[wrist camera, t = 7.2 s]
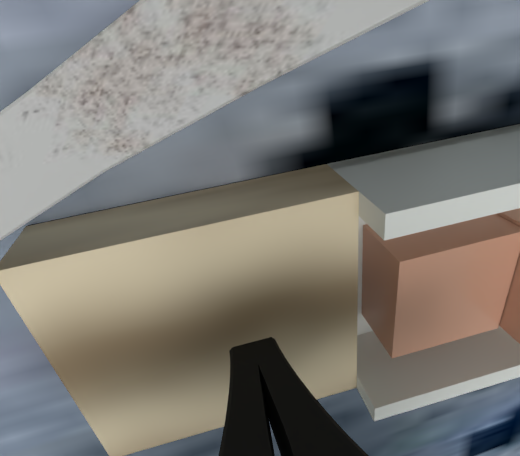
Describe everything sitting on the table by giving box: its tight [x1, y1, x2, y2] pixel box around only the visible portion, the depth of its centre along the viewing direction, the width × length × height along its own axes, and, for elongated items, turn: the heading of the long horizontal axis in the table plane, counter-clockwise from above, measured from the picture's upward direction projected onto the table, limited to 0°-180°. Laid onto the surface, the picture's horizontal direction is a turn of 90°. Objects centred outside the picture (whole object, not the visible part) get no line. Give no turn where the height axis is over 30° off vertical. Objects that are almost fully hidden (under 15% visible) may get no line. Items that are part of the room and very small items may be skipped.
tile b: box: [361, 214, 520, 358], centre depth 14 cm, size 4×4×2 cm
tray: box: [327, 124, 520, 421], centre depth 14 cm, size 9×13×4 cm
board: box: [0, 164, 359, 456], centre depth 13 cm, size 9×10×2 cm
